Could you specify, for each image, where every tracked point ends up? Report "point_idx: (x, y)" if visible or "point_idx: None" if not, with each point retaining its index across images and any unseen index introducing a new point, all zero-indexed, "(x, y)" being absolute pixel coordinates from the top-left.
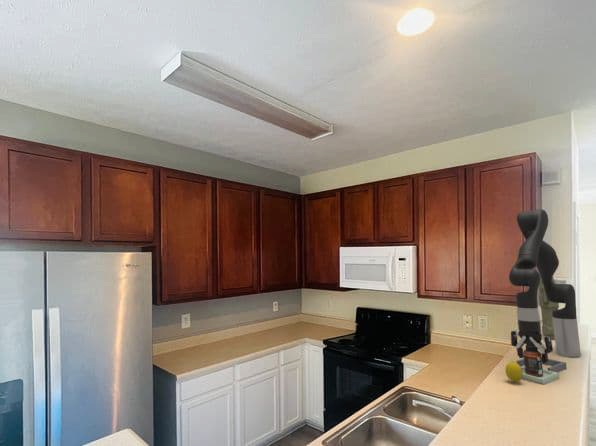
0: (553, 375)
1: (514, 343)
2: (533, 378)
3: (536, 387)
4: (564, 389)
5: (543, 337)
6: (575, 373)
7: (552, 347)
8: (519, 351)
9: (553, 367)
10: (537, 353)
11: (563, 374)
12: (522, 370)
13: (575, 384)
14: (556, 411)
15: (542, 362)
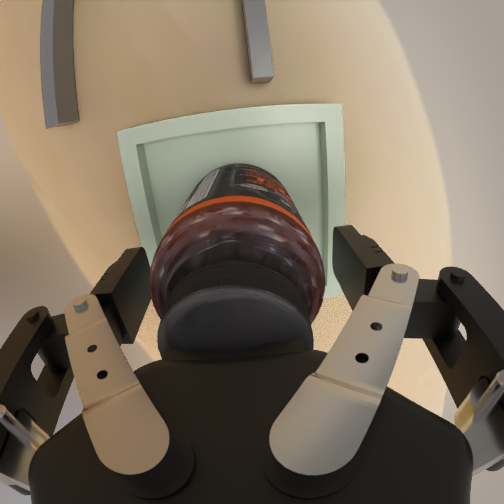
0: (344, 176)
1: (71, 377)
2: None
3: (327, 325)
4: (408, 253)
5: (476, 460)
6: None
7: (490, 296)
8: (134, 326)
9: (268, 31)
10: (314, 316)
11: (301, 12)
12: (153, 203)
13: (417, 141)
14: (413, 395)
15: (336, 272)
